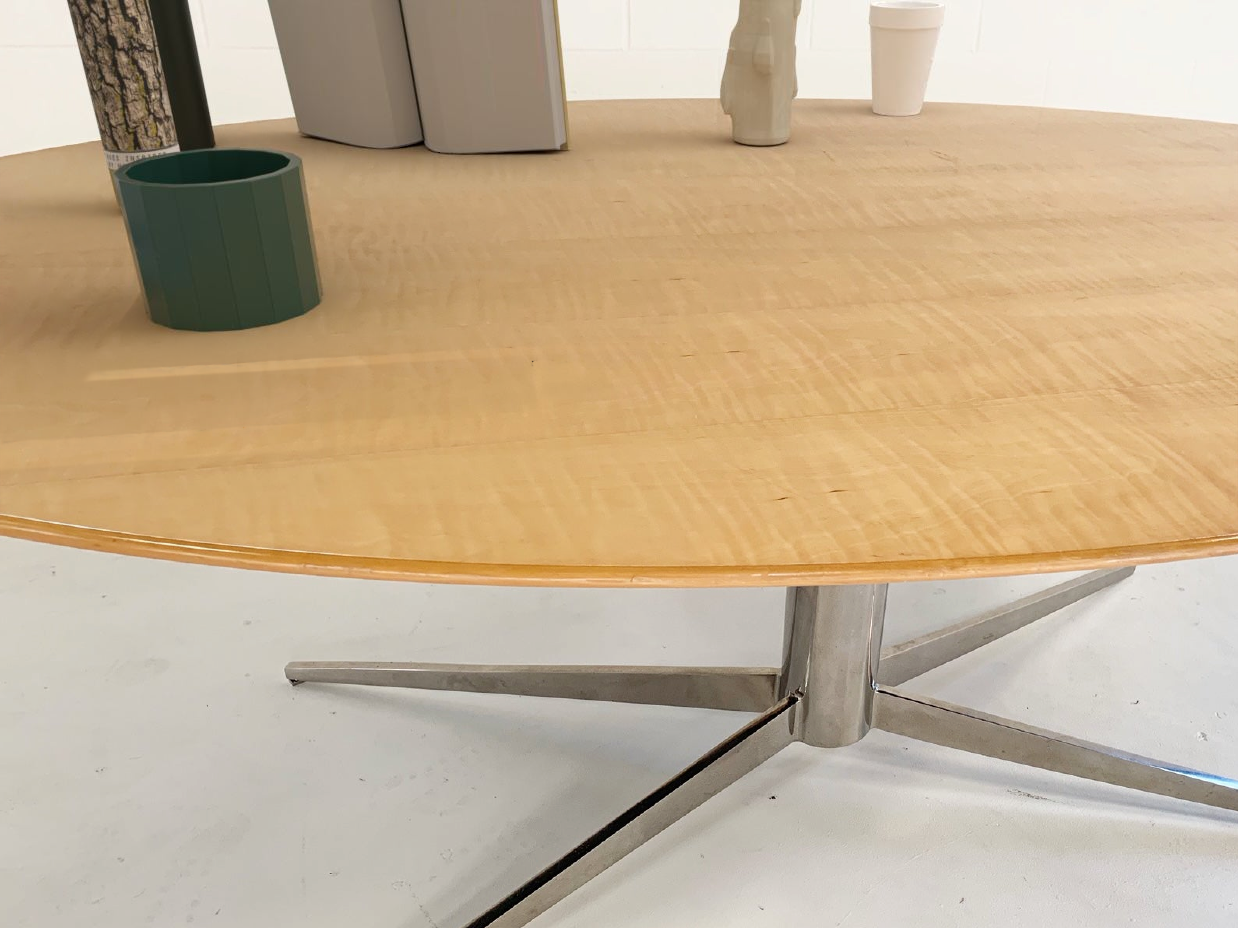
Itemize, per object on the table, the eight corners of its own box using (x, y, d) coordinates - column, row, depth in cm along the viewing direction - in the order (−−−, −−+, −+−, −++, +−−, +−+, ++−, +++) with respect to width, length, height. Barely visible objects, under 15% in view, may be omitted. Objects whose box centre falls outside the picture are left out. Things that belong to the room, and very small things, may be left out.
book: (575, 145, 137) (553, -90, 121) (550, 168, 131) (523, -75, 116) (313, 128, 147) (261, -89, 132) (279, 149, 142) (221, -76, 126)
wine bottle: (205, 151, 137) (146, -148, 121) (158, 151, 137) (92, -148, 121) (222, 142, 141) (167, -148, 125) (176, 141, 142) (115, -147, 126)
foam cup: (944, 110, 156) (957, 3, 149) (909, 120, 150) (921, 9, 143) (883, 103, 161) (894, -1, 154) (847, 112, 155) (856, 5, 149)
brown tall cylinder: (199, 208, 113) (138, -85, 100) (128, 219, 110) (54, -83, 97) (180, 195, 118) (119, -87, 105) (111, 205, 115) (39, -85, 102)
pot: (132, 343, 81) (93, 190, 76) (168, 289, 92) (136, 150, 86) (314, 333, 83) (289, 182, 77) (329, 280, 93) (308, 144, 88)
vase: (774, 151, 135) (790, -154, 119) (709, 144, 138) (716, -153, 122) (803, 138, 141) (822, -153, 125) (740, 131, 144) (751, -152, 129)
